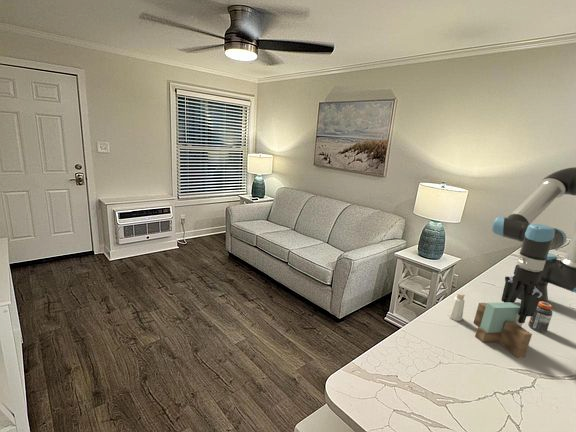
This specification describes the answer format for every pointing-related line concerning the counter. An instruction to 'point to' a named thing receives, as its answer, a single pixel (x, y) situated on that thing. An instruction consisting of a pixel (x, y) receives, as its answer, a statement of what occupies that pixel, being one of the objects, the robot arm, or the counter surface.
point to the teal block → (499, 315)
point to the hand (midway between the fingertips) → (511, 325)
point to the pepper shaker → (457, 307)
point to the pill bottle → (541, 317)
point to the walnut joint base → (504, 334)
